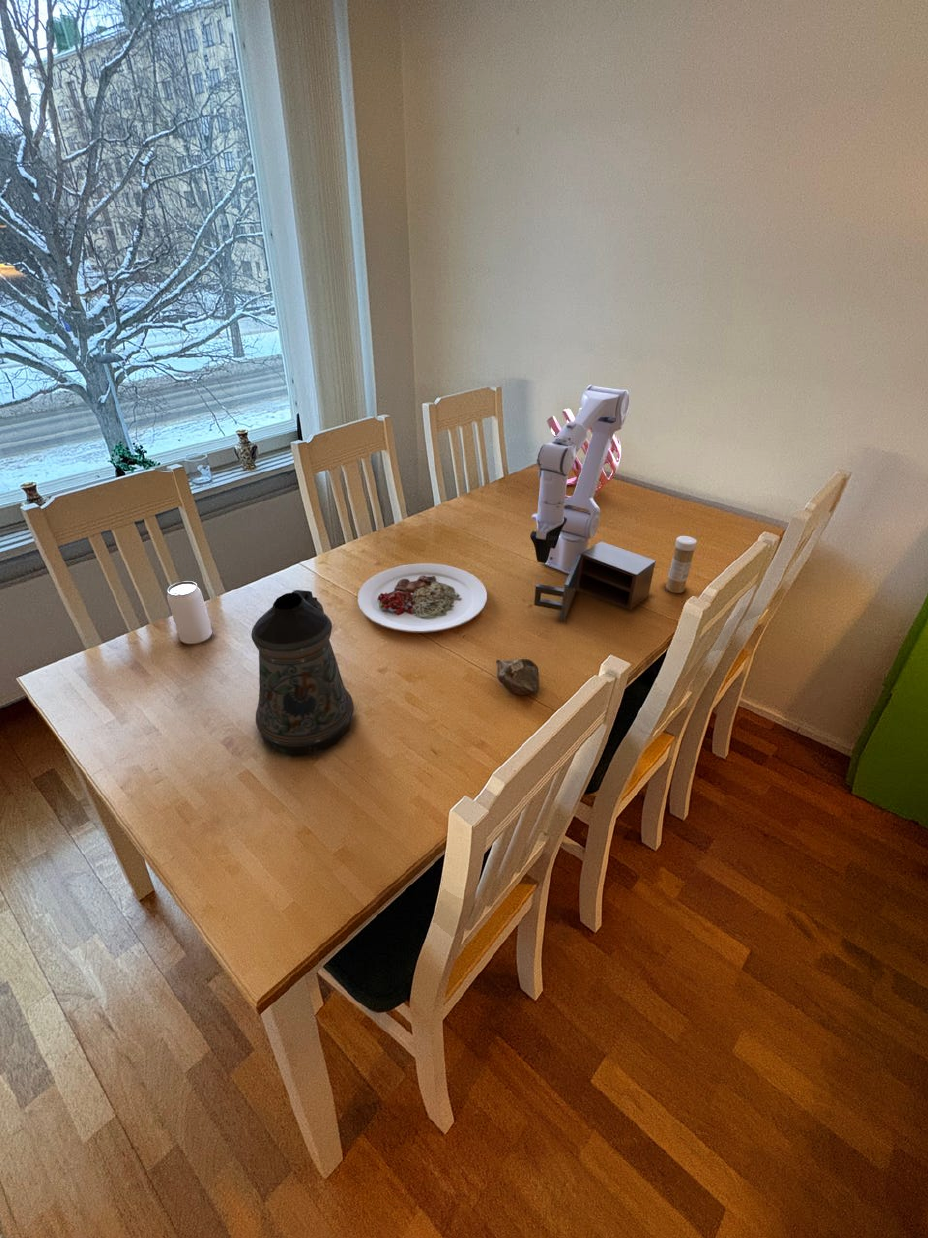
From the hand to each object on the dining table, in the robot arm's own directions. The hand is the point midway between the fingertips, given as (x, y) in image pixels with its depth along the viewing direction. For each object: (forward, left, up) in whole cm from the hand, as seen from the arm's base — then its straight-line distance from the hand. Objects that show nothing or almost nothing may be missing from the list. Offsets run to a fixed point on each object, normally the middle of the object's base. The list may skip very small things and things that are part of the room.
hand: (546, 554), depth 137 cm
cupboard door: (+5, -2, -10) cm, 11 cm away
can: (-43, -65, -11) cm, 79 cm away
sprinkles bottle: (+23, +24, -11) cm, 34 cm away
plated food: (-18, -22, -11) cm, 31 cm away
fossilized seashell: (+17, -31, -11) cm, 37 cm away
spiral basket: (-29, +60, -11) cm, 67 cm away
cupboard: (+12, +12, -10) cm, 20 cm away
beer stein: (-5, -64, -11) cm, 65 cm away
